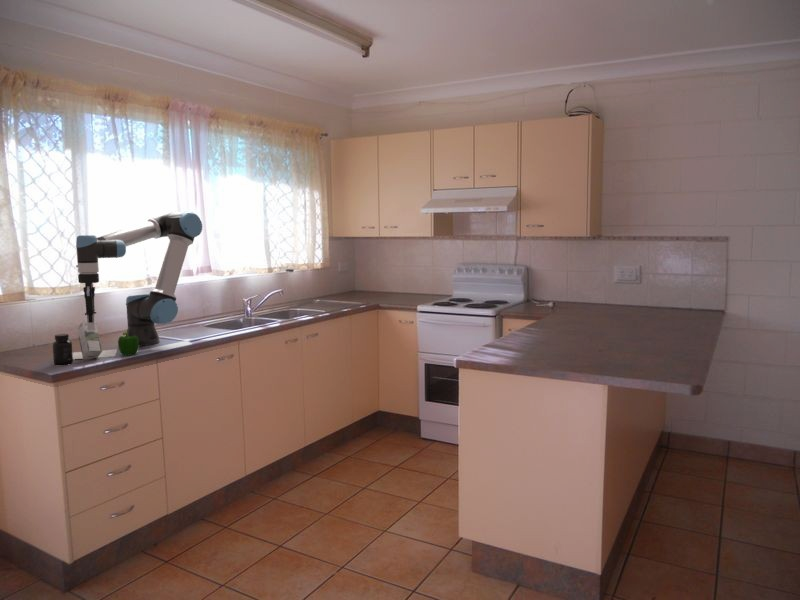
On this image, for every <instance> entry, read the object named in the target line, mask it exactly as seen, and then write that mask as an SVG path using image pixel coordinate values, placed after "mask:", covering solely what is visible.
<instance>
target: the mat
mask: <svg viewBox="0 0 800 600" xmlns="http://www.w3.org/2000/svg"><path fill="white" fill-rule="evenodd" d="M117 352H118V349H105V350H102V352H101V354H100V355H99V356H98V358H97V359H104V358H103V357H109V358H116V357H117ZM115 356H116V357H115ZM75 359H83V360H93V358H83V356H82V351H77V352H75V351H74V352H73V361H76V360H75Z"/></svg>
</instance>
